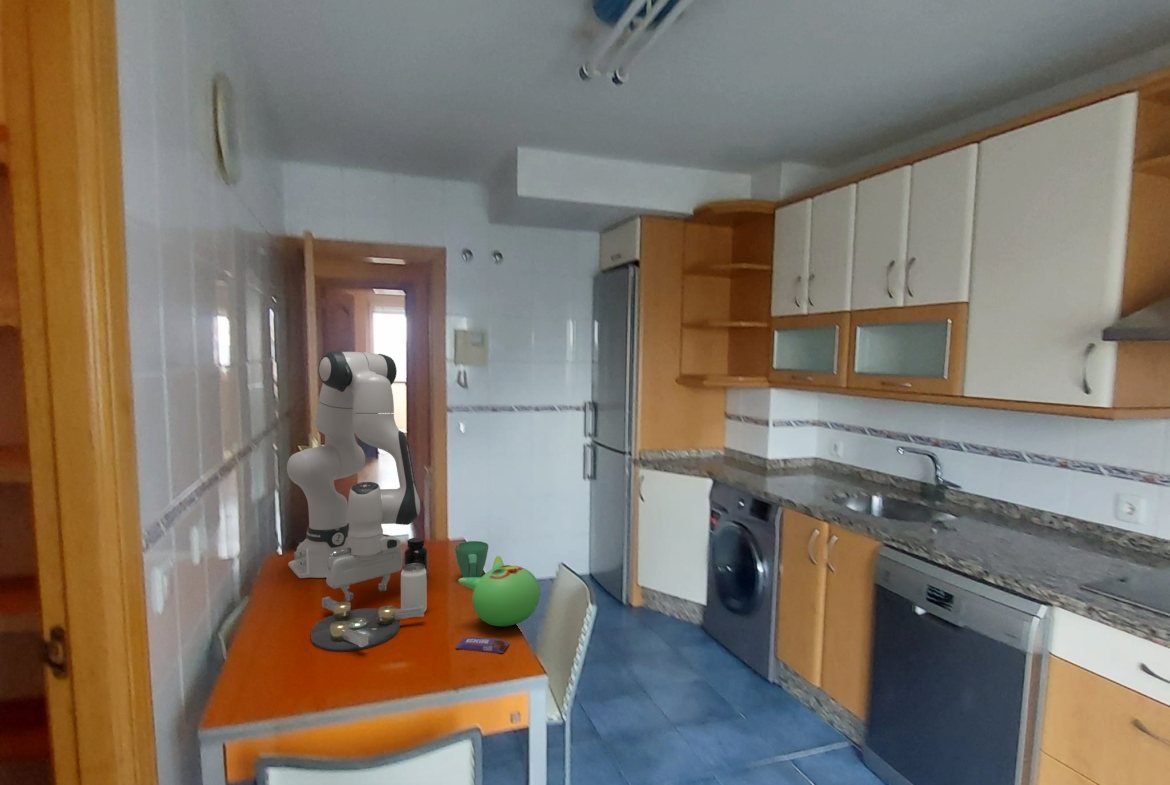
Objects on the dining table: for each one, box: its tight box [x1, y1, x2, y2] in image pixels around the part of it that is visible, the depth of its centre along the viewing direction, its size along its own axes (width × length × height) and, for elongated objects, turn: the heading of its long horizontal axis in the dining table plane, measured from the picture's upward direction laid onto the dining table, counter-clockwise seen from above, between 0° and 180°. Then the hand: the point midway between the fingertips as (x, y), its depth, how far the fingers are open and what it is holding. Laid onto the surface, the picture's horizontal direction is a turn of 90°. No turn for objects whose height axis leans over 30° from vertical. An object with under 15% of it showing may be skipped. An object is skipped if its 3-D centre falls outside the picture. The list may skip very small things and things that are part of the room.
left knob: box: [377, 605, 425, 624], centre depth 152 cm, size 11×4×3 cm, turn 109°
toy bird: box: [457, 555, 541, 627], centre depth 155 cm, size 18×17×15 cm
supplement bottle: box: [403, 537, 429, 579], centre depth 184 cm, size 7×7×12 cm
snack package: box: [455, 636, 510, 654], centre depth 142 cm, size 12×2×5 cm
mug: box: [454, 540, 489, 578], centre depth 183 cm, size 15×10×10 cm
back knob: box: [321, 595, 352, 620], centre depth 156 cm, size 11×4×3 cm, turn 49°
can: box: [400, 563, 428, 613], centre depth 161 cm, size 6×6×12 cm
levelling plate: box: [310, 608, 401, 653], centre depth 149 cm, size 20×20×3 cm
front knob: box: [330, 621, 368, 647], centre depth 140 cm, size 11×4×3 cm, turn 58°
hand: (366, 595), depth 165 cm, fingers open, 8 cm apart
